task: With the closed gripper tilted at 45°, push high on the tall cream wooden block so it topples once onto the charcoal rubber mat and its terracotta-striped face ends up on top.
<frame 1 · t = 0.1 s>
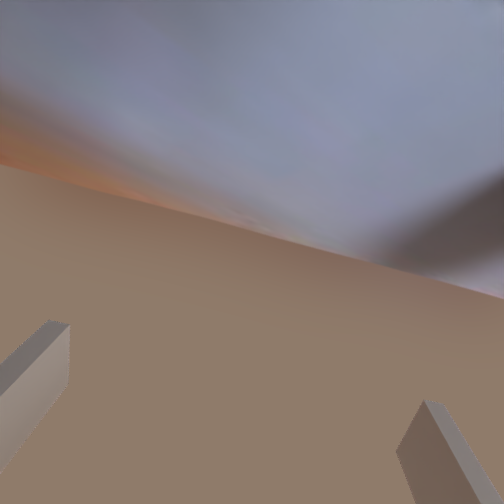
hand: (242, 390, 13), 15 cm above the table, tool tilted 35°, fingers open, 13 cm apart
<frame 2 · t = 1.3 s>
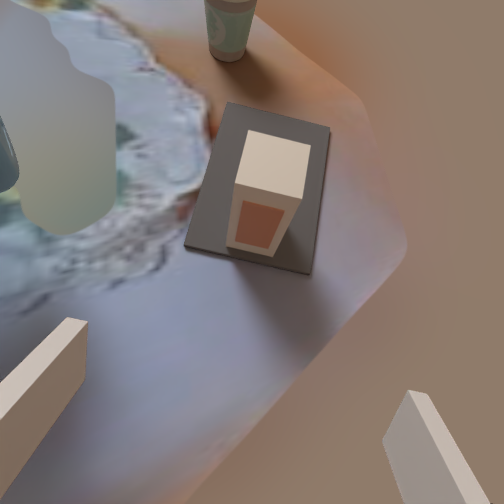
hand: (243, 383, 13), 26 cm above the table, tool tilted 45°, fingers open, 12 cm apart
cream block: (253, 230, 43), point 1 cm above the table, touching charcoal mat
coffee cup: (226, 50, 56), on the table
charcoal mat: (264, 182, 47), on the table
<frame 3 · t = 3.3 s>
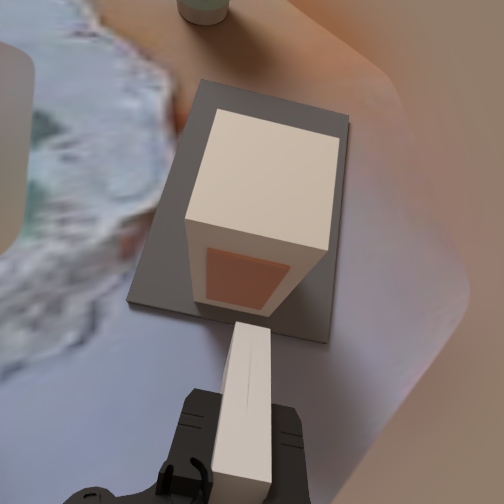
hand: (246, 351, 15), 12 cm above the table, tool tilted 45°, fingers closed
cream block: (238, 273, 28), point 1 cm above the table, touching charcoal mat
coffee cup: (202, 10, 40), on the table
charcoal mat: (254, 196, 32), on the table
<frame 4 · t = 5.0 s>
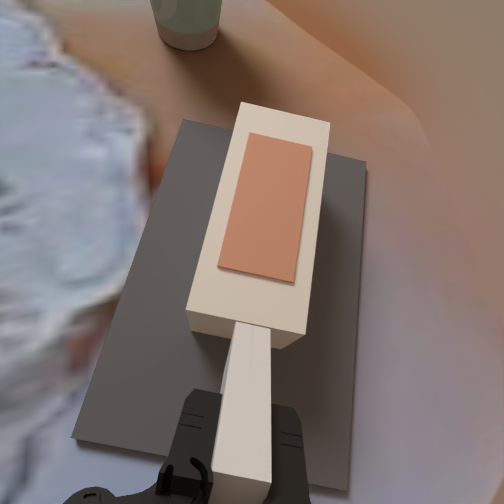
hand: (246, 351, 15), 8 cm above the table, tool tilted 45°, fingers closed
cream block: (240, 332, 19), point 4 cm above the table, tilted 90°, touching charcoal mat
coffee cup: (187, 32, 34), on the table
charcoal mat: (248, 273, 25), on the table
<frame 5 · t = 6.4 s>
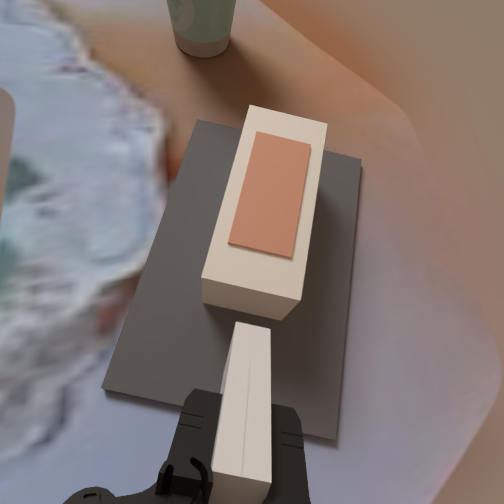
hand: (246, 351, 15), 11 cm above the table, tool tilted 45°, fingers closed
cream block: (246, 301, 23), point 4 cm above the table, tilted 90°, touching charcoal mat
coffee cup: (202, 41, 37), on the table
charcoal mat: (254, 255, 28), on the table
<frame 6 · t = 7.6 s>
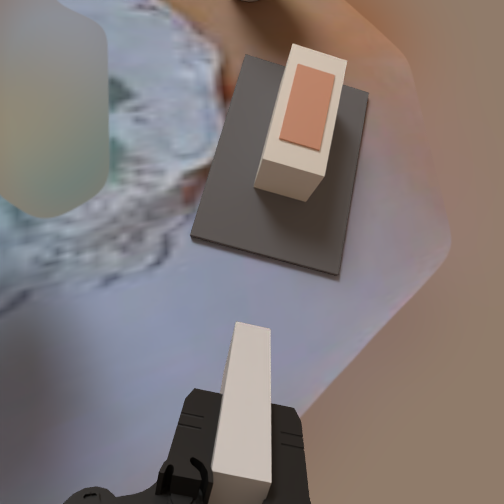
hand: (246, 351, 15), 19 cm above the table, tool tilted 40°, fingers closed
cream block: (286, 182, 34), point 4 cm above the table, tilted 90°, touching charcoal mat
charcoal mat: (287, 159, 39), on the table
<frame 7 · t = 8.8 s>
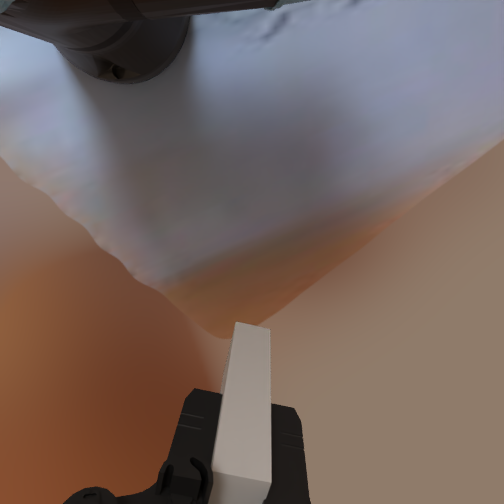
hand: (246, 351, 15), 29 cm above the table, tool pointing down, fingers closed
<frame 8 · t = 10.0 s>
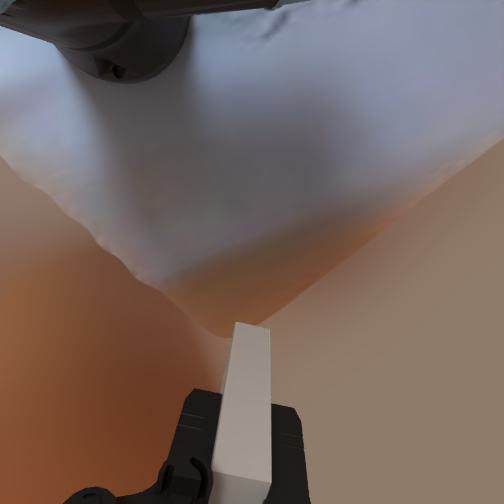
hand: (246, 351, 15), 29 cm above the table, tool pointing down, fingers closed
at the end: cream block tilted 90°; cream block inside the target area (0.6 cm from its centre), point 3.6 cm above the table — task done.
